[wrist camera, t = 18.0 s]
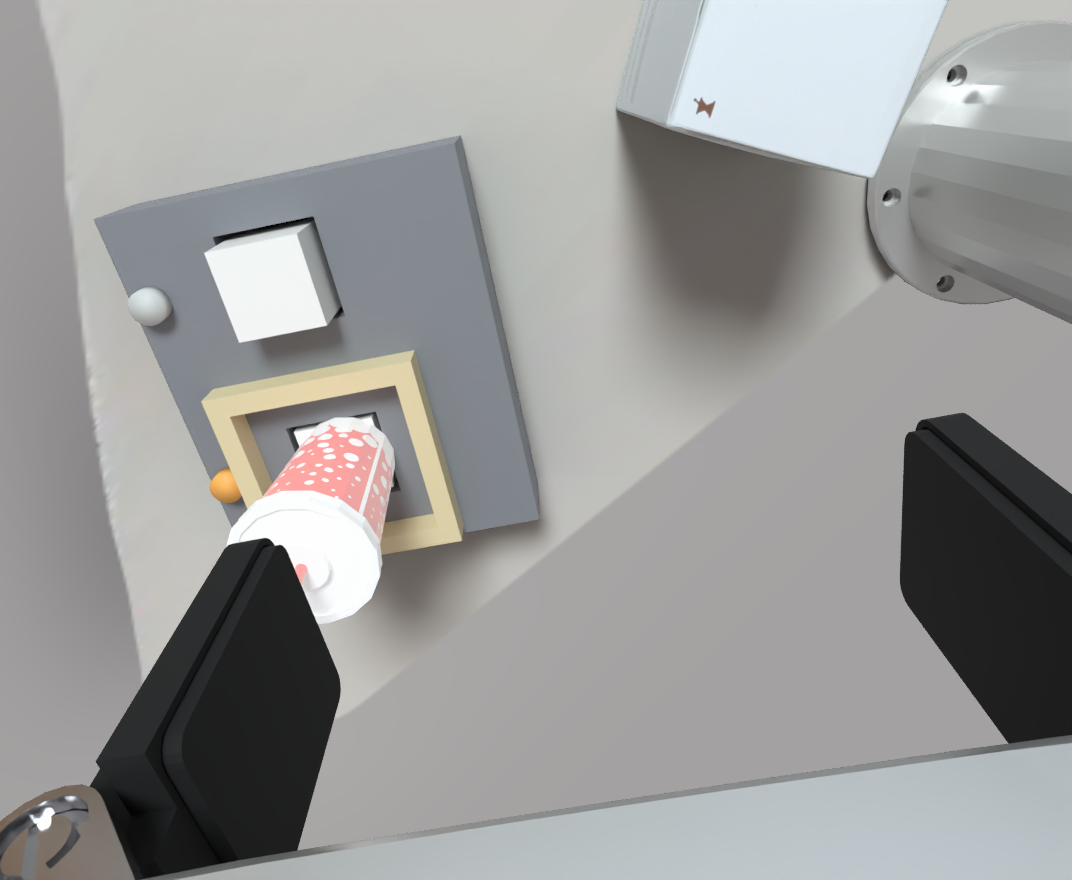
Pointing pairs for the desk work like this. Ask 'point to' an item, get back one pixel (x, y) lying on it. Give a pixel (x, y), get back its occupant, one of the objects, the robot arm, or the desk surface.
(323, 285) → the block
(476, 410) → the gray panel board
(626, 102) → the supplement box
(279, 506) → the beverage cup
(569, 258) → the desk surface
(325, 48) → the desk surface
